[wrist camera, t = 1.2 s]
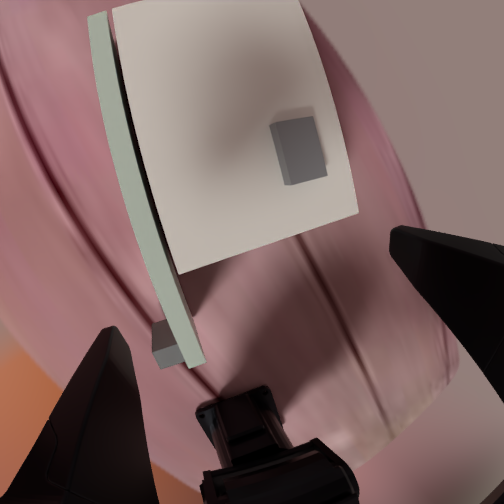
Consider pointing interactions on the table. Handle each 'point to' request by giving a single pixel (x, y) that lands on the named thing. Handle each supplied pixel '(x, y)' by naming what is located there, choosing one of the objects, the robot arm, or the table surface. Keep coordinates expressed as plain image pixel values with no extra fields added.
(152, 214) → the side door
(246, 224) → the camera case
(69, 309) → the table surface
